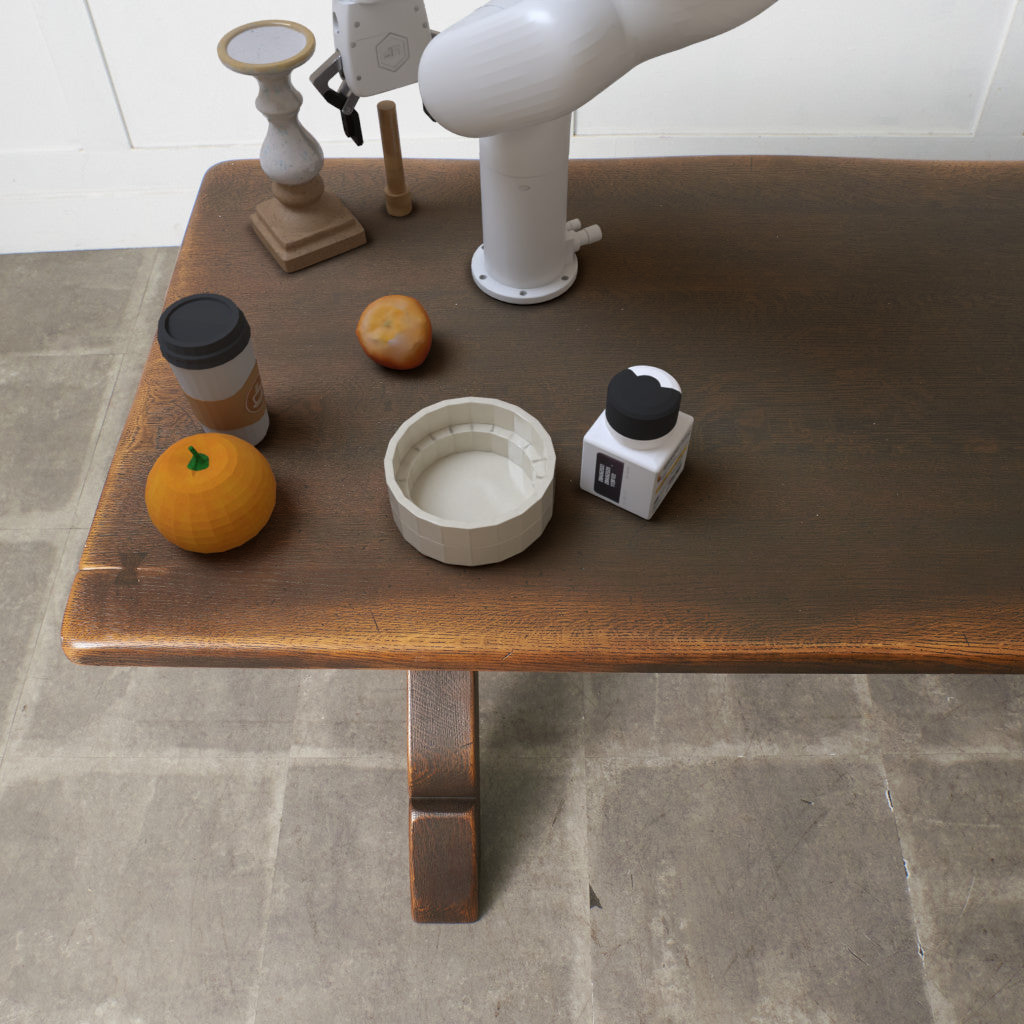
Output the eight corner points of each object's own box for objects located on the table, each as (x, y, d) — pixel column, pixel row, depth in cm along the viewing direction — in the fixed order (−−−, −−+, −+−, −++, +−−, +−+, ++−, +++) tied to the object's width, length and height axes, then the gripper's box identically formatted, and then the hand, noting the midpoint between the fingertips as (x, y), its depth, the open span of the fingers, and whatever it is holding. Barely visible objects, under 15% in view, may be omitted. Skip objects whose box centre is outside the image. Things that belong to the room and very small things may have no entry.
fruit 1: (135, 547, 88) (96, 481, 80) (202, 457, 94) (171, 387, 86) (245, 583, 85) (215, 518, 77) (305, 488, 92) (284, 419, 84)
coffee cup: (263, 466, 94) (224, 357, 81) (185, 454, 95) (135, 344, 83) (291, 406, 98) (258, 295, 86) (217, 395, 99) (174, 284, 87)
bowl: (506, 420, 97) (505, 376, 92) (583, 527, 89) (587, 485, 83) (367, 477, 93) (358, 433, 87) (435, 595, 84) (429, 554, 79)
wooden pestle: (405, 198, 120) (393, 94, 109) (416, 212, 118) (404, 107, 107) (382, 206, 119) (368, 102, 108) (393, 219, 117) (378, 115, 106)
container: (648, 522, 89) (665, 431, 78) (578, 489, 91) (585, 396, 81) (684, 468, 93) (704, 375, 82) (615, 438, 95) (626, 343, 85)
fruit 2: (452, 318, 104) (433, 293, 96) (432, 386, 103) (411, 366, 96) (385, 303, 106) (361, 278, 98) (365, 370, 105) (340, 349, 97)
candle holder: (286, 274, 111) (236, 80, 92) (250, 227, 117) (196, 35, 98) (368, 242, 115) (336, 49, 95) (329, 198, 120) (292, 7, 101)
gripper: (305, 7, 91) (337, 165, 105) (464, -34, 96) (474, 122, 109) (280, -21, 95) (313, 134, 109) (432, -60, 100) (446, 94, 113)
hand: (394, 128), depth 109 cm, fingers open, 9 cm apart
